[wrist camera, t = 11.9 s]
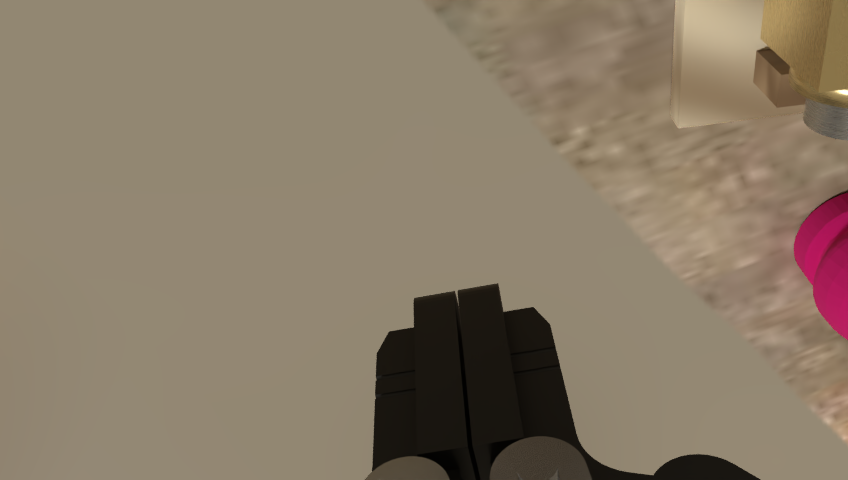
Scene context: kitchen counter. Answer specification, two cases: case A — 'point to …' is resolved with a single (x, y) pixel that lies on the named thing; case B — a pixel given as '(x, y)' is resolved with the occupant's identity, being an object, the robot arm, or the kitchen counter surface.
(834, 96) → the ball valve
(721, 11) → the board
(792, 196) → the kitchen counter surface
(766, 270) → the kitchen counter surface
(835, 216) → the pepper mill
